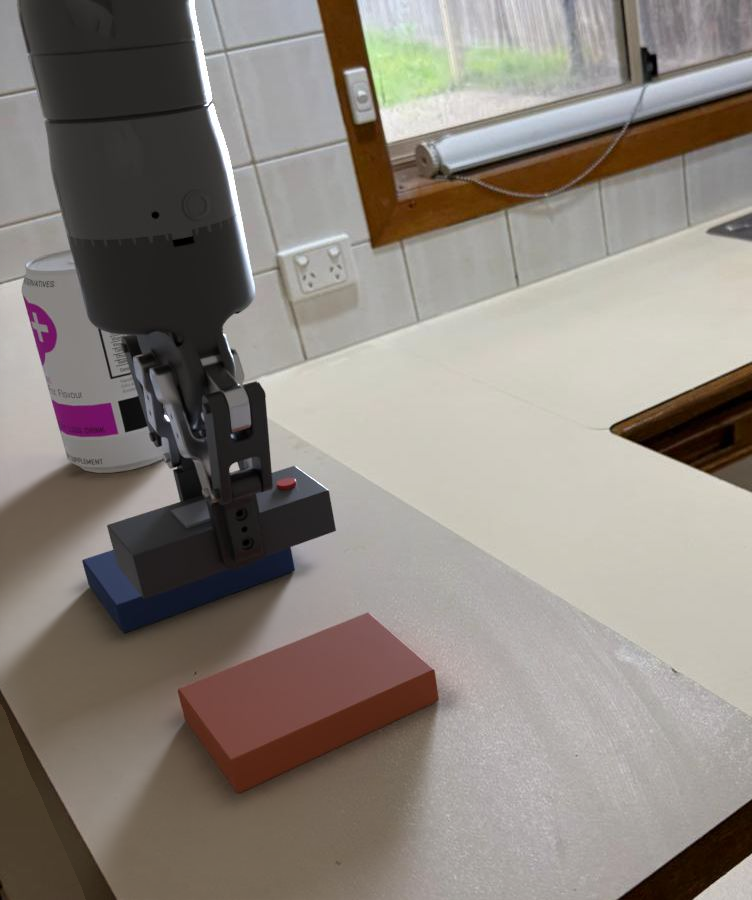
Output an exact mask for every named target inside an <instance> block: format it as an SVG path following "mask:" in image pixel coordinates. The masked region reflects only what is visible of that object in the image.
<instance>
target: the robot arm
mask: <svg viewBox="0 0 752 900" xmlns="http://www.w3.org/2000/svg"><path fill="white" fill-rule="evenodd" d="M16 8H17V17H18V22H19V26H20V30H21V34H22V39H23V43H24V47H25V52H26V54H27V59H28V62H29V66H30V71H31V75H32V78H33V82H34V85H35V91H36V95H37V99H38V102H39V106H40V109H41V113H42V114H41V115H42V117H43V119H45V121H44V127H45V133H46V139H47V147H48V156H49V165H50V172H51V176H52V181H53V186H54V190H55V194H56V199H57V202H58V207H59V210H60V213H61V218H62V222H63V225H64V229H65V234H66V238H67V241H68V245H69V250H70V249H71V253H72V257H73V261H74V265H75V269H76V272H77V276H78V280H79V284H80V288H81V292H82V296H83V300H84V304H85V308H86V312H87V316H88V318H89V320H90V322H91V323H92V324H93V325H94V326H95V327H97V328H98V329H100V330H103V331H106V332H109V333H114V334H123V335H127V336H123V337H122V344H121V348H122V351H123V353H125V355H126V359H127V362H128V365H129V368H130V371H131V374H132V378H133V381H134V384H135V387H136V390H137V393H138V397H139V400H140V403H141V406H142V409H143V413H144V416H145V419H146V422H147V425H148V428H149V432H150V433H149V437H150V439H151V441H152V442H153V443H154V445H155V446H156V447H160V446H162V448H163V459H162V460H163V461H164V463H165V464H166V465H167V466H168V468H169V469H172V472H173V477H174V481H175V485H176V490H177V493H178V497H179V502H181V501H184V500H188V499H191V498H194V497H197V496H200V495H203V497H204V498H205V499H206V500H207V501H206V502H207V506H208V511H209V515H210V519H211V524H212V528H213V531H214V536H215V540H216V545H217V549H218V553H219V558H220V561H221V563H222V564H223V565H224V566H225V567H226V568H228V569H230V570H236V569H238V568H241V567H244V566H247V565H250V564H252V563H255V562H258V561H261V560H262V559H264V558H265V556H266V555H267V545H266V540H265V536H264V531H263V526H262V521H261V516H260V512H259V507H258V502H257V497H256V494H257V493H260V492H265V491H268V490H271V489H272V488H273V482H272V481H273V479H272V473H273V471H272V460H271V447H270V435H269V424H268V423H269V421H268V413H267V412H268V411H267V399H266V398H267V395H266V391H265V389H264V388H263V386H262V384H261V383H260V382H259V381H258V380H255V381H251V382H247V383H244V380H245V373H244V369H243V365H242V362H241V359H240V356H239V354H238V351H237V350H236V349H235V348H234V347H230V345H229V342H228V339H227V335H226V334H225V333H224V325H225V323H226V322H227V321H228V320H229V319H230V318H231V317H233V316H234V315H236V314H237V315H238V314H240V313H242V312H243V311H245V310H246V309H248V308H249V307H250V305H251V304H252V303H253V301H254V299H255V297H256V288H255V281H254V277H253V276H254V275H253V272H252V267H251V261H250V256H249V251H248V247H247V240H246V235H245V231H244V224H243V220H242V215H241V210H240V204H239V200H238V195H237V190H236V189H237V188H236V184H235V179H234V173H233V168H232V163H231V159H230V155H229V150H228V147H227V145H226V141H225V138H224V134H223V132H222V129H221V126H220V123H219V120H218V116H217V114H216V109H215V106H214V105H215V104H214V103H213V102H212V100H213V96H212V91H211V85H210V81H209V76H208V71H207V70H208V69H207V66H206V60H205V55H204V49H203V45H202V40H201V36H200V31H199V25H198V22H197V15H196V10H195V9H196V8H195V0H16ZM163 405H164V406H165V408H166V409H164V407H163ZM235 463H236V464H237V466H238V470H234V471H231V472H230V468H231V467H232V465H234V464H235Z"/></svg>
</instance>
